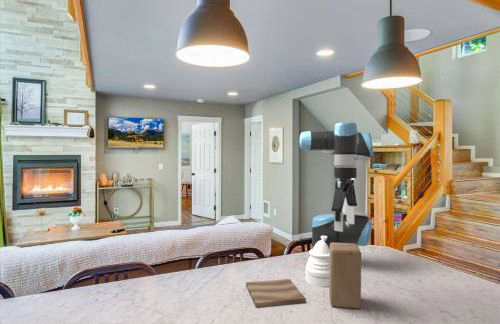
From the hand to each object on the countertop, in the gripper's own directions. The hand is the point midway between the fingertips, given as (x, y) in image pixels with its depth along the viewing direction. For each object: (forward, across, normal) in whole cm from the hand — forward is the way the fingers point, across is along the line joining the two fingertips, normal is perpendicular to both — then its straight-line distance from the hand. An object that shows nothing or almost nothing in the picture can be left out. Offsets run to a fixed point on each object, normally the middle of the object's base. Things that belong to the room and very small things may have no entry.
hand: (344, 227), depth 113 cm
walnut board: (+27, -8, +24) cm, 37 cm away
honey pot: (+27, +14, +14) cm, 34 cm away
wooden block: (+27, 0, 0) cm, 27 cm away
